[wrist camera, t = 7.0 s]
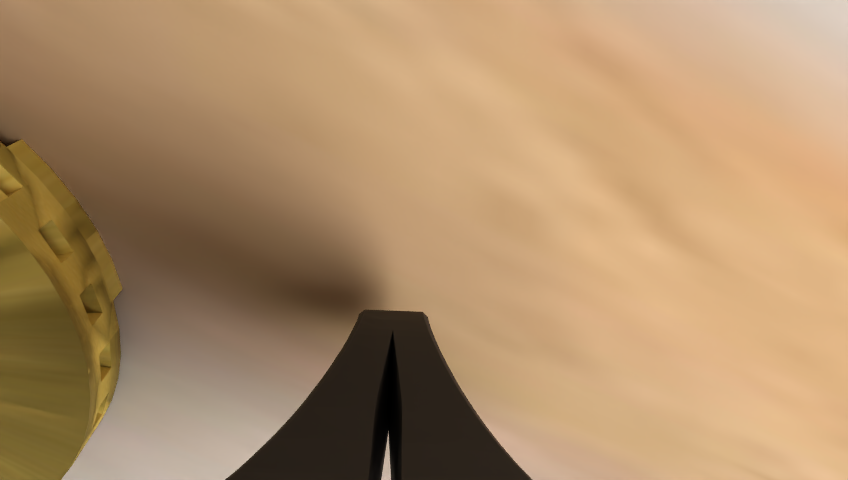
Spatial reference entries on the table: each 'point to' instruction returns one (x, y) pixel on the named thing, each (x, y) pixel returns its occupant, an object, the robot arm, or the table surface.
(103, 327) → the gold round shallow dish
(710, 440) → the table surface
